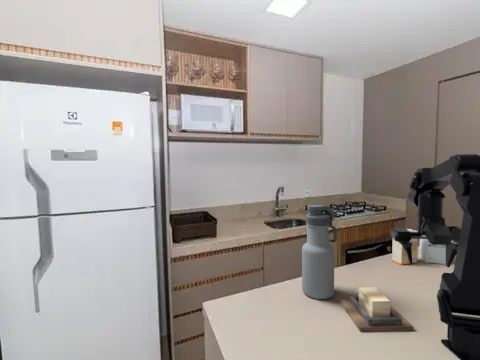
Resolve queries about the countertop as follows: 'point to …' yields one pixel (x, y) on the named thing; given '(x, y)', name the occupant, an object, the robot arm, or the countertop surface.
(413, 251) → the supplement box
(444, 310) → the robot arm
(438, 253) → the supplement box
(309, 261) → the water bottle
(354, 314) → the nest board
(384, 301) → the maple block
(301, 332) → the countertop surface
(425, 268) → the countertop surface
